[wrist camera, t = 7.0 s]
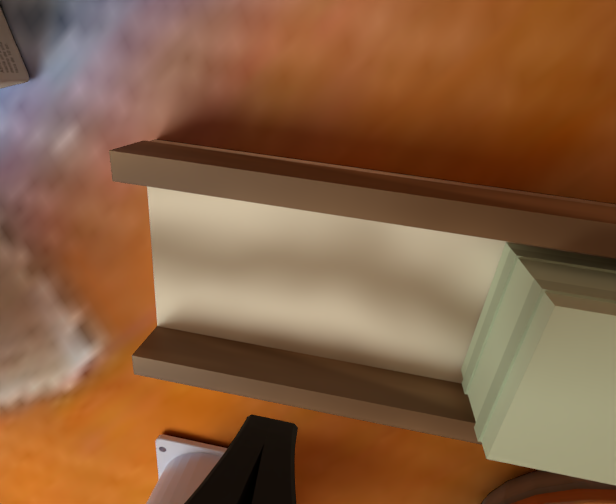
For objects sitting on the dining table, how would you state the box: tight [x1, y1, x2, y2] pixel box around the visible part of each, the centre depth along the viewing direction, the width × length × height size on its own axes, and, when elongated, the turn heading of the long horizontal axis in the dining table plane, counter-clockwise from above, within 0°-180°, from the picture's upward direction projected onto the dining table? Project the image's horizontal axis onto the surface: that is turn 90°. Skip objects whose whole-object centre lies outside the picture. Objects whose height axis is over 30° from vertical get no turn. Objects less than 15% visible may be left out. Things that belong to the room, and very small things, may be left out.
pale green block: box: [461, 243, 616, 485], centre depth 15 cm, size 7×6×5 cm
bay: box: [109, 139, 616, 444], centre depth 16 cm, size 11×25×6 cm, turn 84°
